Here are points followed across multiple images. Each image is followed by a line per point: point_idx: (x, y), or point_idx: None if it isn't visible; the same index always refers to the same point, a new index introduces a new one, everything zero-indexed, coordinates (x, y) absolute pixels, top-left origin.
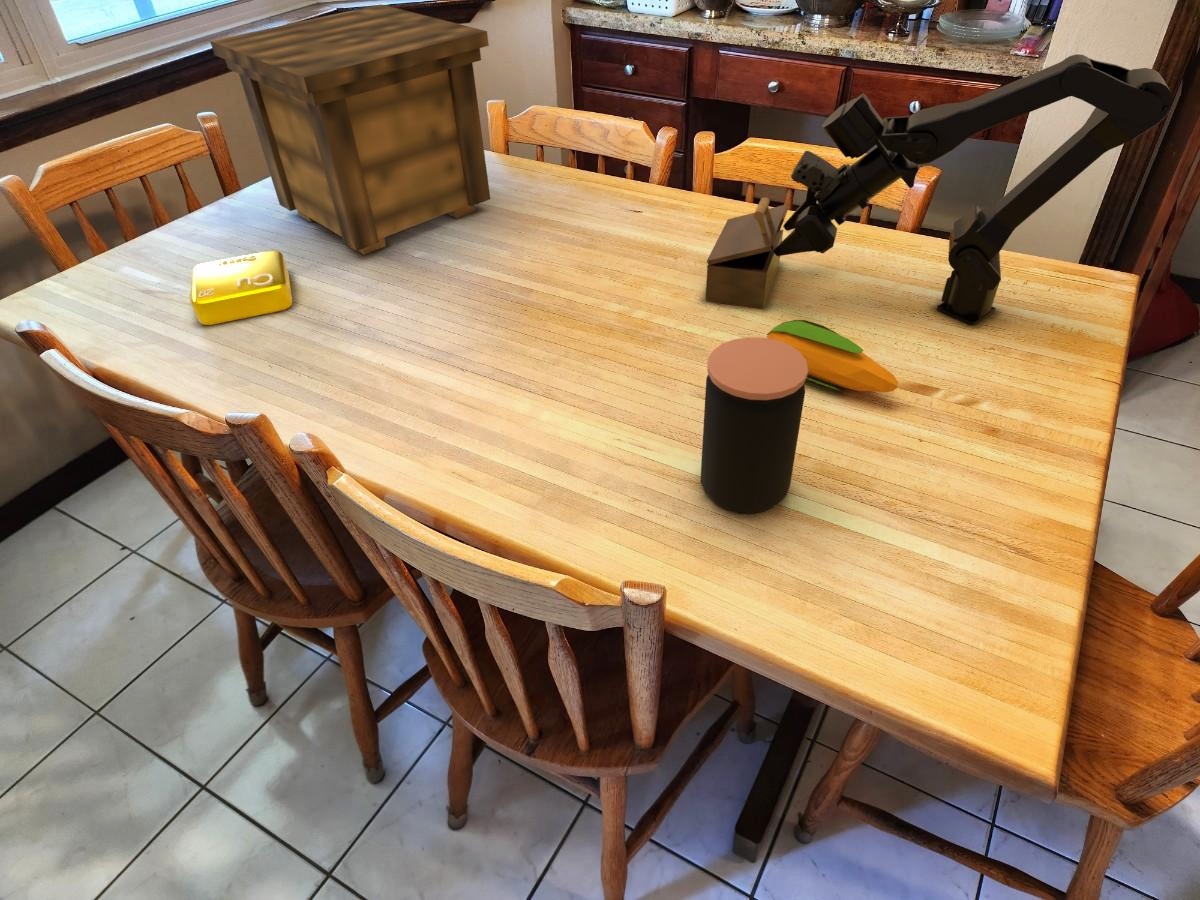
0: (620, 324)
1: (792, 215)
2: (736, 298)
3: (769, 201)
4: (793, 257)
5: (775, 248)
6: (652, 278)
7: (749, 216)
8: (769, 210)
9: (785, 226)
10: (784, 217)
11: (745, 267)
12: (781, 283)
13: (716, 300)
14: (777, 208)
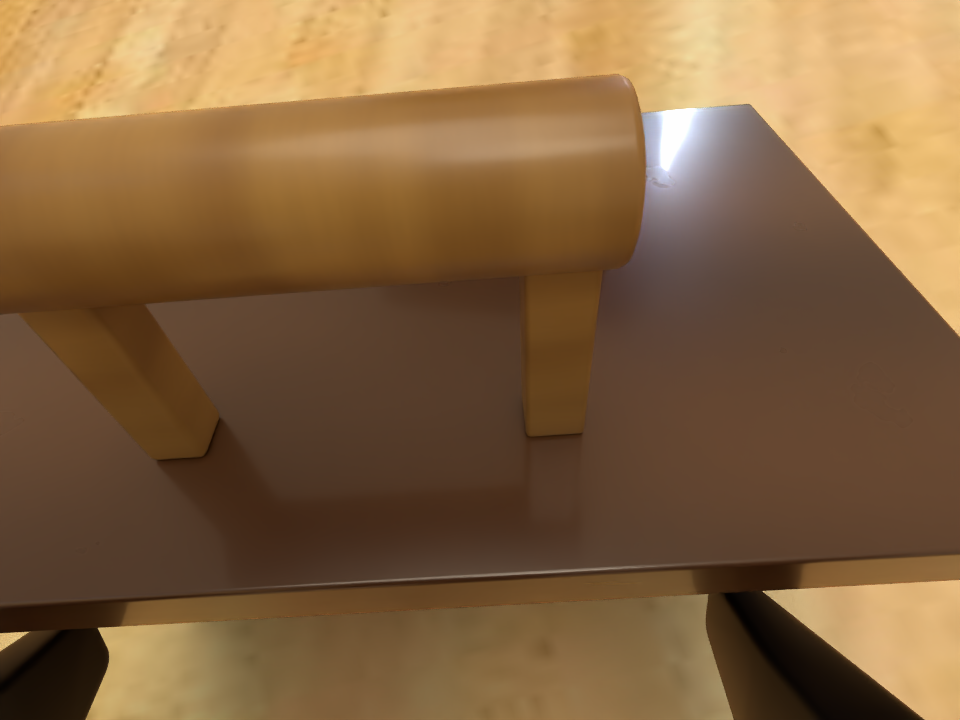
0: (24, 97)
1: (840, 710)
2: None
3: (616, 243)
4: (866, 630)
5: (47, 634)
6: (375, 79)
7: (765, 204)
8: (589, 341)
9: (719, 606)
10: (717, 589)
11: None
12: (503, 630)
13: None
14: (954, 420)
